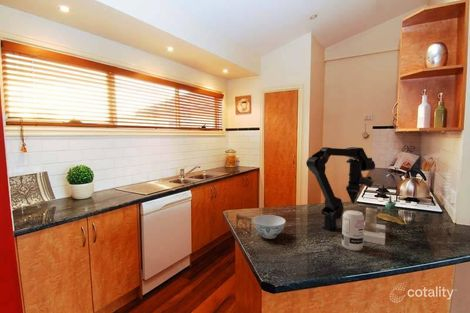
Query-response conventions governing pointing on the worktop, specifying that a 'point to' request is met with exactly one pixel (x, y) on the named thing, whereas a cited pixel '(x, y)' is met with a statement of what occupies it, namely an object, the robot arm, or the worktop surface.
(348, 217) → the supplement can
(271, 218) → the chinaware
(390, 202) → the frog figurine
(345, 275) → the worktop surface
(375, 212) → the block
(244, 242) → the worktop surface
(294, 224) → the worktop surface
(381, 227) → the white flat frame
